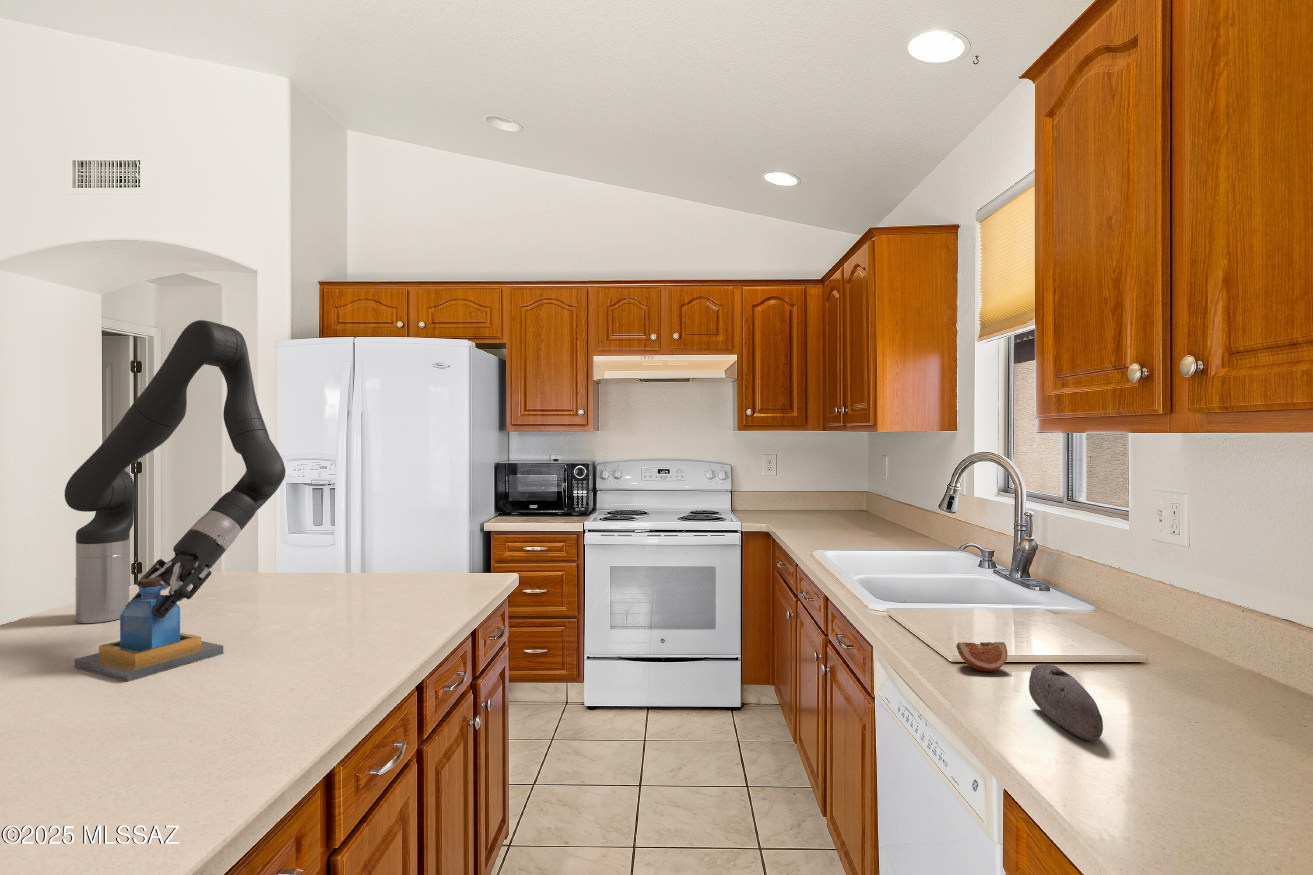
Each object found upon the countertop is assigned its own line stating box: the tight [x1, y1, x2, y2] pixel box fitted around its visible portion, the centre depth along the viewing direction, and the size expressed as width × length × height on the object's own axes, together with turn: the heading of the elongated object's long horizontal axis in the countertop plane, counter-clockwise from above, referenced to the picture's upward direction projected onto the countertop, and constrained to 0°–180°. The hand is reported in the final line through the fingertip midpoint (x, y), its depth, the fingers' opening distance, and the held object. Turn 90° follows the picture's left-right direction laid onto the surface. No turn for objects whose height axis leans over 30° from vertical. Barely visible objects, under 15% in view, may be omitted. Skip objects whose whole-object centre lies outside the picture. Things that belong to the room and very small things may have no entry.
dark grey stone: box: [1028, 663, 1104, 742], centre depth 97 cm, size 15×5×7 cm, turn 175°
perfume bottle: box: [119, 577, 181, 651], centre depth 124 cm, size 6×6×12 cm
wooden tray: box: [74, 632, 224, 683], centre depth 123 cm, size 16×16×4 cm
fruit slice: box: [955, 641, 1008, 673], centre depth 121 cm, size 8×7×5 cm
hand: (143, 613), depth 122 cm, fingers closed on perfume bottle, 7 cm apart
